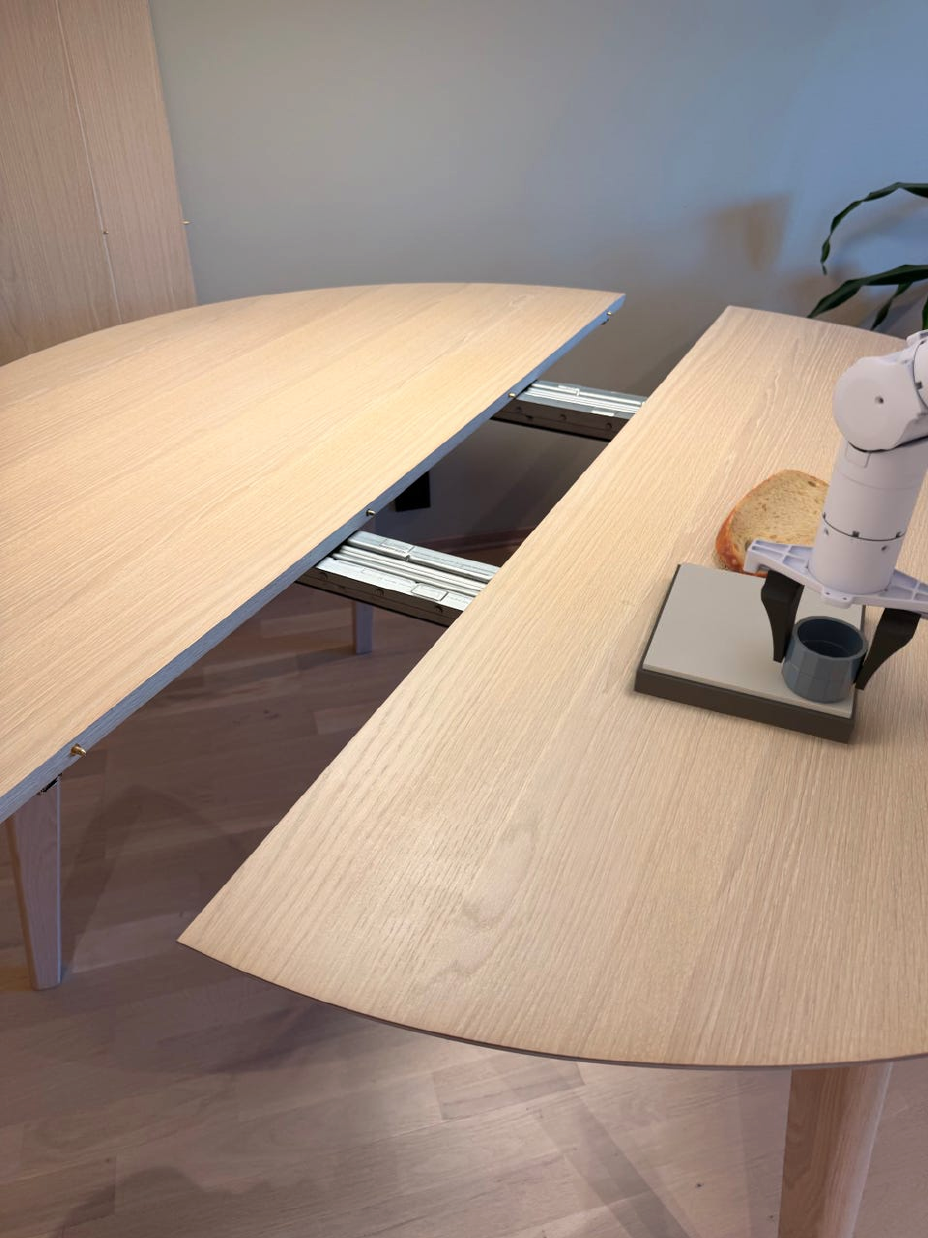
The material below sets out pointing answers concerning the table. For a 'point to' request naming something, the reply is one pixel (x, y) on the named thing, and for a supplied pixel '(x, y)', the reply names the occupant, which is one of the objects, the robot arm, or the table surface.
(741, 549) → the slice of bread
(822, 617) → the cup
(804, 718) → the scale
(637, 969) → the table surface
